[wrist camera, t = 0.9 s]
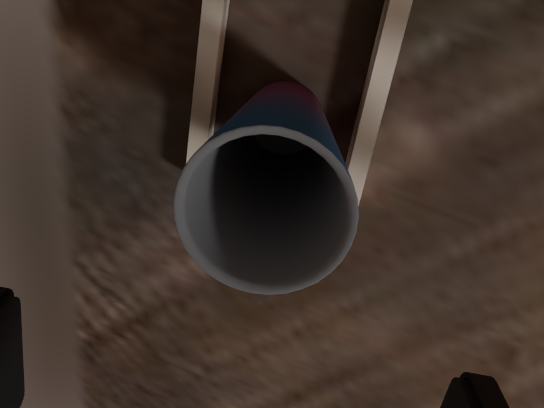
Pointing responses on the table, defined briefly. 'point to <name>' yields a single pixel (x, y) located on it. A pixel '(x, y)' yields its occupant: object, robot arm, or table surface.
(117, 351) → the table surface
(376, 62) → the track
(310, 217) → the cup
